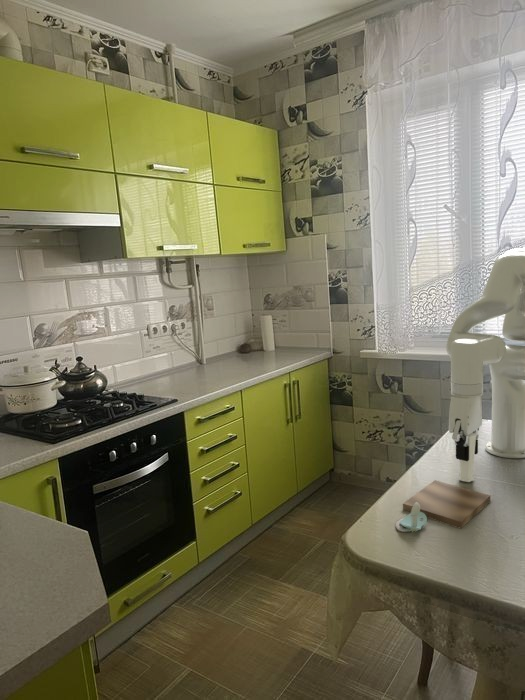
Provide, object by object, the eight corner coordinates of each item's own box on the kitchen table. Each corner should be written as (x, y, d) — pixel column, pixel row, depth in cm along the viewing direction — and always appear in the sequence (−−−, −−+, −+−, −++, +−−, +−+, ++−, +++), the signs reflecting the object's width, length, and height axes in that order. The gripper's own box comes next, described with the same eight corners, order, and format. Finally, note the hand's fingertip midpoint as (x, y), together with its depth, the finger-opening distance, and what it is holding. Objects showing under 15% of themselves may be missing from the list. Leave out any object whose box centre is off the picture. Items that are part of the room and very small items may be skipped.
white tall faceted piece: (476, 483, 131) (476, 427, 128) (458, 481, 132) (457, 426, 129) (475, 475, 135) (475, 421, 132) (457, 474, 136) (457, 420, 134)
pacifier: (390, 531, 112) (417, 538, 108) (389, 505, 111) (416, 511, 107) (403, 517, 118) (429, 523, 114) (402, 491, 117) (428, 497, 113)
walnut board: (435, 485, 132) (435, 480, 132) (490, 501, 122) (490, 495, 122) (402, 509, 121) (402, 503, 121) (460, 528, 111) (460, 522, 111)
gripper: (466, 378, 138) (466, 443, 141) (436, 394, 126) (437, 463, 129) (495, 382, 132) (494, 449, 136) (467, 398, 121) (467, 471, 124)
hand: (466, 455), depth 132 cm, fingers closed on white tall faceted piece, 4 cm apart
